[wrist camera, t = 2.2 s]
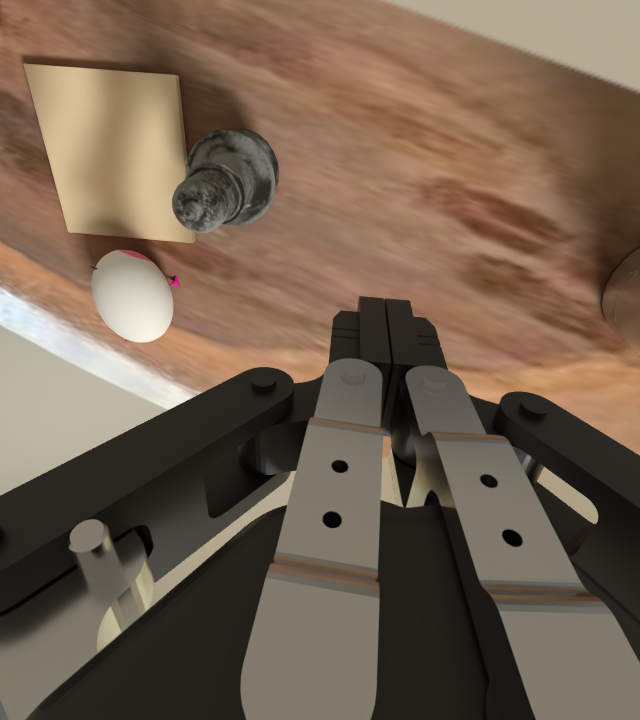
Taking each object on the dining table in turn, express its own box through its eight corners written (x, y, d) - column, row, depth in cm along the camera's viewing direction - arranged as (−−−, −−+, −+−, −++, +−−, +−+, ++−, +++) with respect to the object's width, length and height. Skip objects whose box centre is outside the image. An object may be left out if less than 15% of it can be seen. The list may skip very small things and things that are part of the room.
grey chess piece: (189, 135, 30) (106, 166, 20) (269, 114, 29) (223, 136, 19) (218, 218, 33) (158, 281, 23) (292, 203, 32) (261, 261, 22)
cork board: (178, 75, 28) (175, 75, 28) (195, 240, 34) (193, 243, 34) (29, 63, 28) (23, 63, 28) (72, 229, 35) (68, 232, 34)
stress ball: (129, 232, 38) (52, 257, 34) (181, 238, 33) (99, 267, 29) (158, 311, 42) (92, 341, 38) (208, 326, 37) (139, 363, 33)
